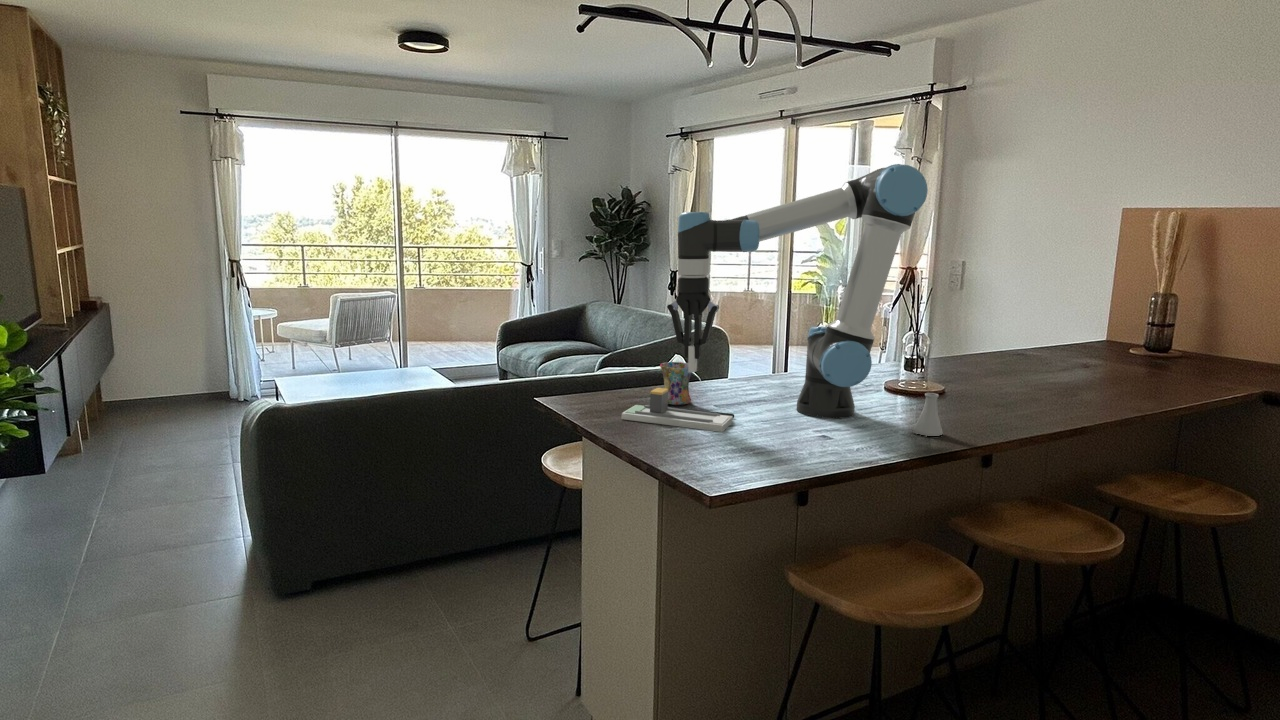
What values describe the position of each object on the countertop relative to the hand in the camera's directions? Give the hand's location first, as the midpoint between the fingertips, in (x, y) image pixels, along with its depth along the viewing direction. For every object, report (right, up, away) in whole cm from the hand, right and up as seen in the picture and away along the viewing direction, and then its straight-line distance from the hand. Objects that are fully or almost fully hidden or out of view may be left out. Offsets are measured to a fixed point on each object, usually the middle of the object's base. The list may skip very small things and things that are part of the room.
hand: (692, 371), depth 192 cm
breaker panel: (-4, -12, +1) cm, 13 cm away
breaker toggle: (-8, -10, +2) cm, 14 cm away
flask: (+57, -15, -4) cm, 59 cm away
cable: (0, -11, +8) cm, 14 cm away
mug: (-4, -9, +21) cm, 23 cm away
